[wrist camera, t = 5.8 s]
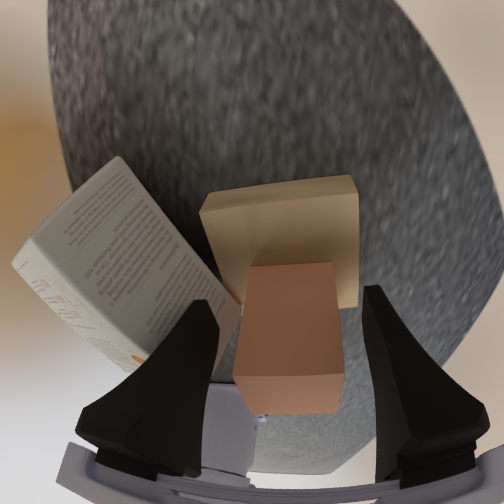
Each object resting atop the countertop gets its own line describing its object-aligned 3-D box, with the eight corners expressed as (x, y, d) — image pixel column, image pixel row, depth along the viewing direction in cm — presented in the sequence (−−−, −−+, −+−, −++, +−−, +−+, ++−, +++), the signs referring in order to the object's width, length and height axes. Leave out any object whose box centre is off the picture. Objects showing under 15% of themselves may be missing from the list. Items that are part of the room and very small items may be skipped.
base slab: (352, 282, 17) (357, 306, 16) (240, 292, 19) (236, 316, 17) (350, 174, 13) (358, 192, 12) (209, 192, 15) (198, 212, 13)
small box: (65, 202, 16) (162, 310, 21) (7, 263, 13) (125, 373, 18) (123, 150, 11) (247, 309, 17) (28, 236, 8) (205, 398, 13)
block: (331, 315, 16) (336, 412, 12) (262, 318, 17) (250, 414, 13) (332, 261, 14) (344, 373, 9) (250, 266, 15) (231, 375, 10)
